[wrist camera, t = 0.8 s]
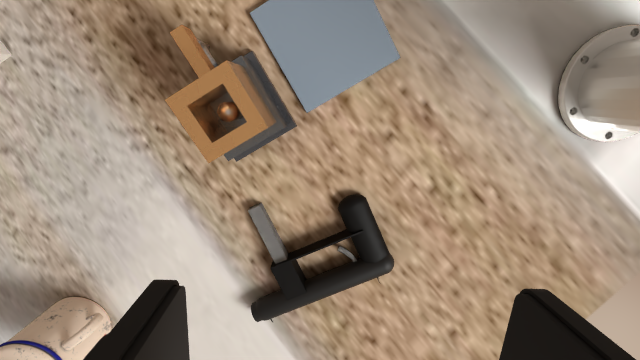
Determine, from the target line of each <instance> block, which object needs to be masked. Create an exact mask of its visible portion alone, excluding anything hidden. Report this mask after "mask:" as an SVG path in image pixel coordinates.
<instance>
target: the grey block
mask: <svg viewBox="0 0 640 360" xmlns="http://www.w3.org/2000/svg"><path fill="white" fill-rule="evenodd" d="M196 39H197V38H196ZM197 40H198V42H199V44H200V45H201V47H202V48H203V50H204V51H205V53H206V55H207V56H208V58H209V59H210V61H211V63H212V64H213V66H214V67H217V66H218V64H217V63H216V61H215V60H214V58H213V56H212V55H211V53H210V52H209V48H210V47H209V44H207V43H205V42H203V41H201V40H199V39H197ZM232 62H233V63H235V64H238V65H241V66H243V67H244V69H245V71H246V72H247V74H248V76H249V77H250V79H251V81H252V82H253V84H254V86H255V87H256V89H257V91H258V92H259V94H260V95H261V97H262V99H263V100H264V102H265V104H266V105H267V107H268V109H269V110H270V112H271V114H272V115H273V117H274V119H275V120H276V123H274V124H273V125H271V126H270V127H268V128H267V129H265V130H263V131H262V132H260V133H258V134H257V135H255V136H253V137H252V138H250V139H248V140H247V141H245V142H243V143H242V144H240V145H238V146H237V147H235V148H233V149H232V150H230V151H228V152H227V153H225V154H224V156H225V157H226V159H227V160H228V161H229V160H231V159H233V158H234V159H235V160H236V162H237V161H238V160H240V159H242V158H243V157H245V156H247V155H249V154H250V153H252V152H254V151H255V150H257V149H259V148H260V147H262V146H264V145H266V144H267V143H269V142H271V141H272V140H274V139H276V138H277V137H279V136H281V135H283V134H284V133H286V132H288V131H289V130H291V129H293V128H294V127H296V126H297V125H296V123H295V121H294V120H293V118H292V116H291V114H290V113H289V111H288V109H287V108H286V106H285V104H284V103H283V101H282V99H281V97H280V96H279V94H278V92H277V91H276V89H275V87H274V86H273V84H272V82H271V81H270V79H269V77H268V75H267V74H266V72H265V70H264V69H263V67H262V65H261V64H260V62H259V60H258V58H257V57H256V55H255V53H254V52H253V51H251V52H249V53H248V54H246V55H245V56H239V57H238V58H236V59H235V60H233V61H232ZM210 106H211V107H212V109H213V110H214V112H215V113H216V115H217V116H218V118H219V119H220V121H221V123H222V124H223V126H224V127H225V129H226V130H227V132H228V133H230V132H231V131H233V130H235V129H236V128H238V127H240V126H241V125H243V124H244V123H246V122H247V121H246V120H245V118H244V116H243V115H242V113H241V112H240V110H239V108H238V107H237V105H236V104H235V102H234V101H233V99H232V97H231V96H230V94H229V93H226V94H224V95H223V96H221V97H220V98H218V99H216V100H215V101H213V102H212V103H210Z"/></svg>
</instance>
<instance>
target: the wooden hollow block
mask: <svg viewBox="0 0 640 360" xmlns="http://www.w3.org/2000/svg"><path fill="white" fill-rule="evenodd" d="M170 34H171V35H172V37H173V39H174V40H175V42H176V43H177V45H178V46H179V48H180V49H181V51H182V52H183V54H184V56H185V57H186V59H187V60H188V62H189V63H190V65H191V66H192V68H193V69H194V71H195V73H196V74H197V76H198V77H199V78H198V79H197V80H195V81H194V82H192V83H191V84H189V85H187V86H186V87H184V88H183V89H181V90H180V91H178V92H176V93H175V94H173V95H172V96H170V97H169V98H167V99H166V100H165V101H166V102H167V104H168V105H169V107H170V108H171V110H172V111H173V112H174V114H175V115H176V117H177V118H178V120H179V121H180V123H181V124H182V126H183V127H184V128H185V130H186V131H187V133H188V134H189V136H190V137H191V139H192V140H193V142H194V143H195V144H196V146H197V147H198V149H199V150H200V152H201V153H202V155H203V156H204V157H205V159H206V160H207V162H208V163H210V162H211V161H213V160H215V159H216V158H218V157H220V156H222V155H223V154H225V153H227V152H228V151H230V150H232V149H233V148H235V147H237V146H238V145H240V144H242V143H243V142H245V141H247V140H248V139H250V138H252V137H253V136H255V135H257V134H258V133H260V132H262V131H263V130H265V129H267V128H268V127H270V126H271V125H273V124H274V123H276V120H275V119H274V117H273V115H272V114H271V112H270V110H269V109H268V107H267V105H266V104H265V102H264V100H263V99H262V97H261V95H260V94H259V92H258V91H257V89H256V87H255V86H254V84H253V82H252V81H251V79H250V77H249V76H248V74H247V72H246V71H245V69H244V67H243V66H241V65H238V64H235V63H233V62H230V61H227V60H226V61H225V62H223V63H222V64H220V65H219V66H217V67H214V66H213V64H212V63H211V61H210V59H209V58H208V56H207V55H206V53H205V51H204V50H203V48H202V47H201V45H200V44H199V42H198V40H197V39H196V37H195V36H194V34H193V32H192V31H191V29H189V28H187V27H185V26H183V25H180V26H179V27H177V28H176V29H174V30H173V31H171V32H170ZM226 93H229V94H230V96H231V97H232V99H233V101H234V102H235V104H236V105H237V107H238V108H239V110H240V112H241V113H242V115H243V116H244V118H245V120H246V121H247V122H246V123H244V124H243V125H241V126H240V127H238V128H236V129H235V130H233V131H231V132H230V133H228V132H227V130H226V129H225V127H224V126H223V124H222V123H221V121H220V119H219V118H218V116H217V115H216V113H215V112H214V110H213V109H212V107H211V106H210V103H212V102H213V101H215V100H216V99H218V98H220V97H221V96H223V95H224V94H226Z"/></svg>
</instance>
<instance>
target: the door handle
mask: <svg viewBox="0 0 640 360" xmlns="http://www.w3.org/2000/svg"><path fill="white" fill-rule="evenodd" d="M338 210H339V212H340V214H341V217H342V219H343V221H344V223H345V225H346V228H347V230H345V231H342V232H340V233H337V234H335V235H332V236H330V237H327V238H325V239H323V240H320V241H318V242H315V243H313V244H310V245H308V246H306V247H303V248H301V249H298V250H296V251H293V252H291V253H288V252H287V250H286V248H285V246H284V244H283V242H282V240H281V238H280V236H279V235H278V233H277V231H276V229H275V227H274V225H273V223H272V221H271V219H270V218H269V216H268V214H267V212H266V210H265V208H264V206H263V204H262V203H260V204H257V205H255V206H253V207H250V208H249V210H248V212H249V214H250V216H251V218H252V220H253V222H254V224H255V225H256V227H257V229H258V231H259V233H260V235H261V237H262V239H263V241H264V243H265V245H266V247H267V249H268V251H269V253H270V255H271V257H272V258H273V262H272V265H271V270H272V272H273V274H274V276H275V278H276V280H277V282H278V284H279V286H280V288H281V290H279V291H277V292H274V293H272V294H269V295H267V296H264V297H262V298H260V299H259V300H258V301H257V302H254V303H252V305H251V312H252V315H253V318H254V319H255V321H257V322H259V321H261V320H269V319H271V318H274V317H277V316H279V315H282V314H284V313H287V312H289V311H292V310H295V309H297V308H300V307H302V306H305V305H307V304H310V303H313V302H315V301H318V300H320V299H323V298H325V297H328V296H331V295H333V294H336V293H338V292H341V291H343V290H346V289H348V288H351V287H354V286H356V285H359V284H361V283H364V282H366V281H369V280H372V279H374V278H377V279H378V277H379V276H382V275H384V274H387V273H389V272H390V271H391V270H392V269H393V267H394V259H393V257H392V255H391V254H390V253H389V251H388V249H387V246H386V244H385V242H384V239H383V237H382V235H381V232H380V230H379V228H378V225H377V223H376V221H375V218H374V216H373V214H372V211H371V209H370V207H369V204H368V202H367V200H366V198H365V197H364V196H362V195H359V194H355V195H350V196H348V197H346V198H345V199H343V200H342V201H341V202H340V204H339V207H338ZM350 237H351V239H352V241H353V243H354V245H355V248H356V250H357V252H358V254H359V256H360V259H356V258H355V256H354V255H353V254H352V253H351V252H349V251H348V250H346V249H345V248H343V247H341V246H339V247H338V250H337V251H339V252H341V253H343V254H345V255H347V256H348V257H349V258H350V259H351V260H352V262H350V263H347V264H345V265H342V266H340V267H337V268H335V269H332V270H330V271H327V272H325V273H322V274H320V275H317V276H315V277H312V278H310V279H306V277H305V275H304V273H303V272H302V270H301V268H300V266H299V264H298V262H297V260H296V259H298V258H301V257H303V256H306V255H308V254H311V253H313V252H315V251H318V250H320V249H323V248H325V247H328V246H330V245H333V244H335V243H338V242H340V241H342V240H345V239H347V238H350ZM378 281H379V280H378ZM379 283H380V282H379ZM271 321H272V319H271ZM272 322H273V321H272Z"/></svg>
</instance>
